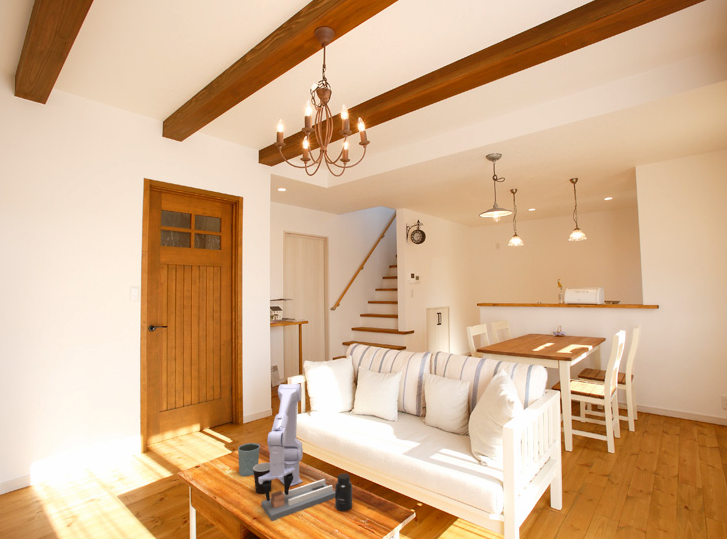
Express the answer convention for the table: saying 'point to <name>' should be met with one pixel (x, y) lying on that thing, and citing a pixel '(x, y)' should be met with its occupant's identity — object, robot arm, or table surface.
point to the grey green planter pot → (248, 458)
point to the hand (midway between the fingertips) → (277, 496)
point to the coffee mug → (258, 472)
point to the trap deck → (287, 510)
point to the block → (277, 499)
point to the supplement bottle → (343, 493)
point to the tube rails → (307, 495)
